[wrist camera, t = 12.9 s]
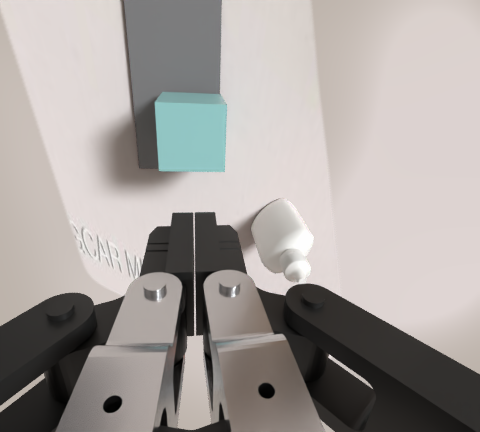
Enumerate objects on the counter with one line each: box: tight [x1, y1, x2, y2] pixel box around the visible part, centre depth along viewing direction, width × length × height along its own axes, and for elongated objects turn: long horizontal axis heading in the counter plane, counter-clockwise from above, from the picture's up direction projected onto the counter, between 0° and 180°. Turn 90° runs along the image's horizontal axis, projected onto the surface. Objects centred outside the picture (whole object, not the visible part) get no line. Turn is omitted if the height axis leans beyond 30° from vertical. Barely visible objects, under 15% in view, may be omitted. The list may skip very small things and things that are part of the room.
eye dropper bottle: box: [251, 198, 314, 284], centre depth 33 cm, size 4×6×12 cm
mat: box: [124, 0, 222, 169], centre depth 28 cm, size 24×8×1 cm, turn 177°
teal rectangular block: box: [155, 92, 227, 172], centre depth 28 cm, size 5×5×7 cm
